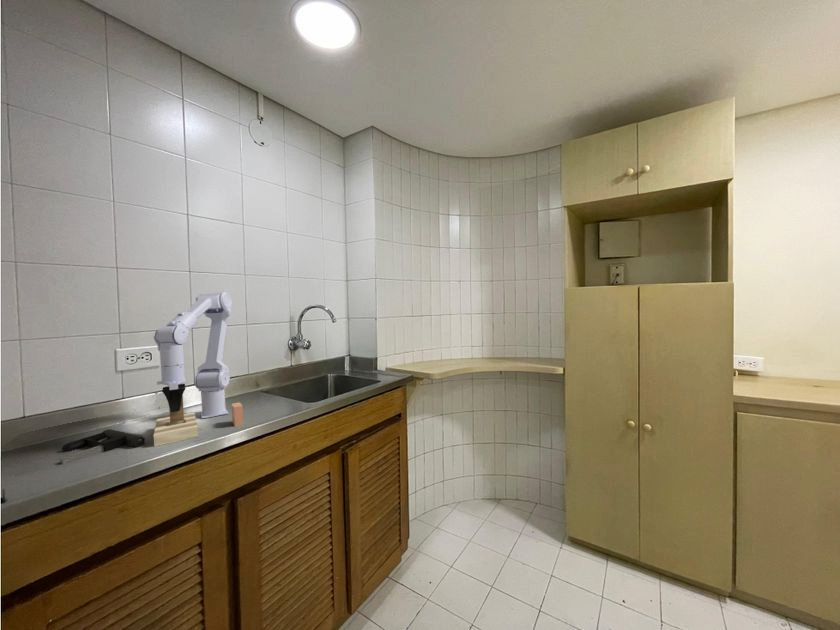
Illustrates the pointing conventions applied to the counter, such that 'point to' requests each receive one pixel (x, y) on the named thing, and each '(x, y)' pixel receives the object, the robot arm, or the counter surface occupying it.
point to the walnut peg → (177, 414)
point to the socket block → (175, 429)
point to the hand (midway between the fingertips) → (175, 410)
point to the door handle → (101, 444)
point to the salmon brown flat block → (237, 414)
